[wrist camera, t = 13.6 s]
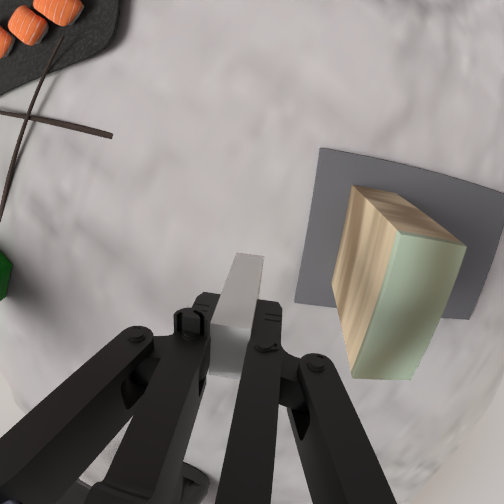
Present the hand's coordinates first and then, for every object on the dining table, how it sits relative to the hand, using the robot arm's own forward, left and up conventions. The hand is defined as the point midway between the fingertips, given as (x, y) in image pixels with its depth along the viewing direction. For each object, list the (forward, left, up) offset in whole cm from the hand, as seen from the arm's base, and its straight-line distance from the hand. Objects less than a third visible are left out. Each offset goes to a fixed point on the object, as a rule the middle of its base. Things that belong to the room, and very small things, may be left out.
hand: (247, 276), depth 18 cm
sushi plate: (-28, +12, -11) cm, 33 cm away
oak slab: (+9, 0, -10) cm, 13 cm away
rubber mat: (+14, 0, -10) cm, 17 cm away
